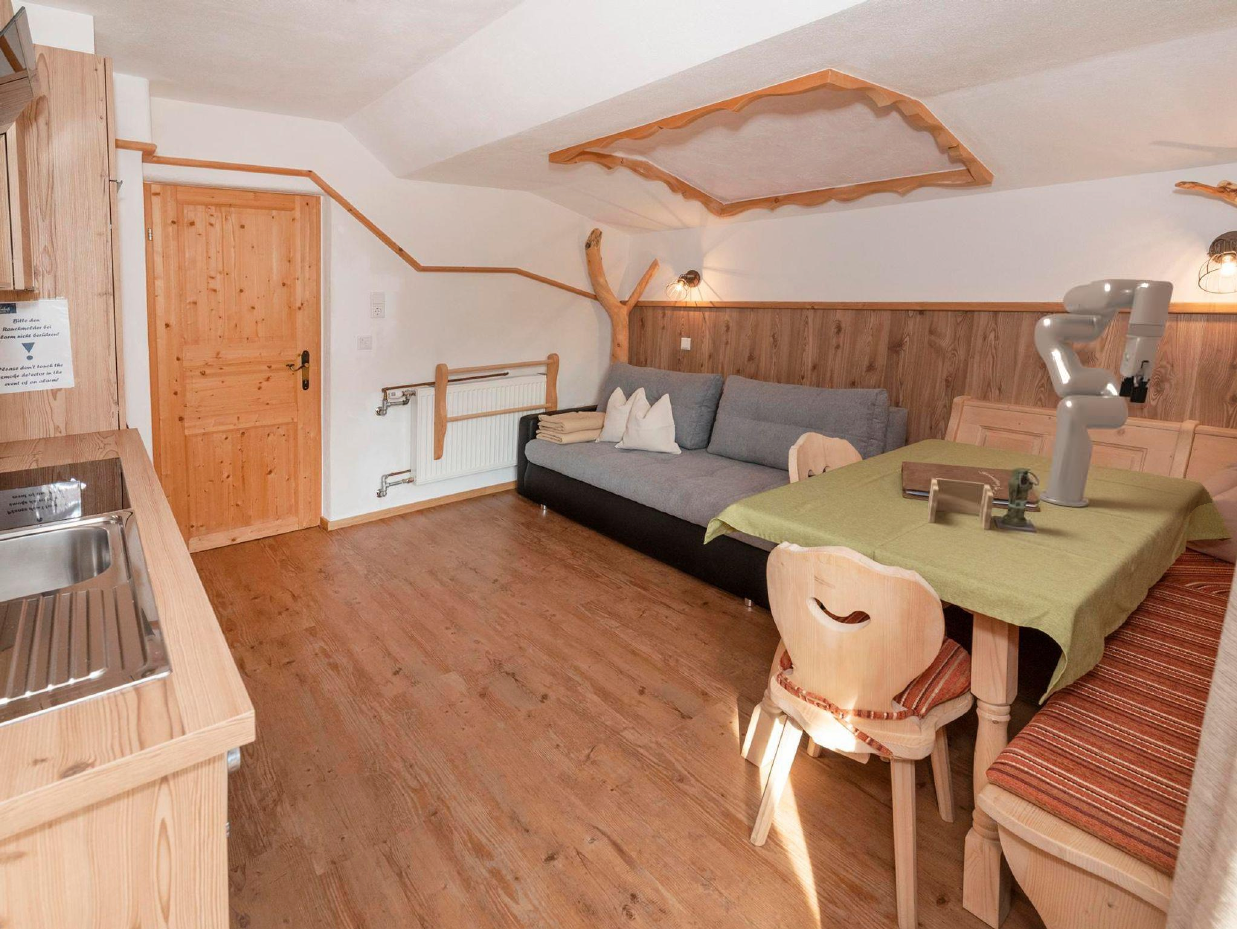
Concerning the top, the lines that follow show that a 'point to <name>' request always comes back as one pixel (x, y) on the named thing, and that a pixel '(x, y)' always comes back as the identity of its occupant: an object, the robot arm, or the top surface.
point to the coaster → (1027, 528)
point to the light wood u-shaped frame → (961, 499)
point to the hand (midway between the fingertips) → (1131, 399)
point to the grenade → (1018, 496)
